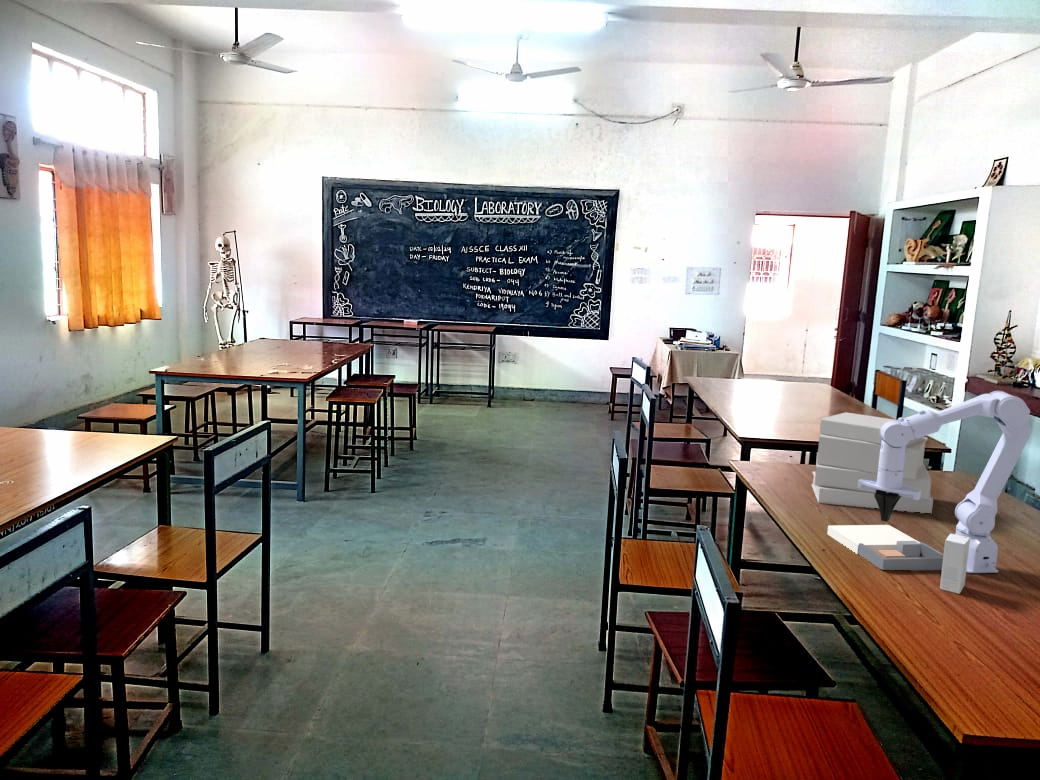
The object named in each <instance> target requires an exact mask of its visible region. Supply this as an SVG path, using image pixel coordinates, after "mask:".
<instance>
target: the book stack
mask: <svg viewBox="0 0 1040 780" xmlns="http://www.w3.org/2000/svg"><path fill="white" fill-rule="evenodd" d="M889 421H897V422H898V421H899V420H898V419H893V418H888V417H880V416H873V415H866V414H859V413H853V412H852V413H851V412H846V411H845V412H842V413H837V414H833V415H829V416H826V417H821V419H820V425H819V434H820V435H819V437H818V438H819V439H818V448H817V460H816V465H815V466H816V467H815V471H814V470H813V471H812V472H811V473H812V476H813V481H812V483H810V485H811V487H812V490H813V493H814V495H815V498H816V500H817V503H818V504H826V505H835V506H836V505H837V506H844V505H845V506H847V507H854V506H855V507H854V508H864V507H865V509H874V508H877V509H876V510H879V506H878V503H877V501H876V499H875V497H874V494H875V493H876V491H875V490H870V489H866V488H858V480H860V479H863V480H869V481H877V475H878V465H879V456H880V449H881V442H882V438H881V437H880V435H879V430H880V429H881V427H882V426H883V425H884V424H885V423H886V422H889ZM928 439H929V438H928V437H926V436H923V437H920V438H917V439H914V440H910V441H909V443H908V444H907V445H906V446H905V460H904V469H903V478H902V486H903V487H907V488H910V489H913V490H917V491H921V496H920V499H919V500H914V499H913V498H908V497H903V496H901V498H900V499H899V501H898V502H897V504H896V505H895V507H894V509H893V511H894V510H897V512H904V511H907V512H906V513H914V512H920V513H919V514H924V513H931V514H932V512H933V504H934V498H933V497H932V496H931V487H932V478H931V475H930V474H929V472H928V470H927V468H926V466H925V464H924V458H925V457H924V456H925V448H926V442H927V441H928ZM845 506H844V507H845Z"/></svg>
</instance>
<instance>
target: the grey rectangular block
mask: <svg viewBox="0 0 1040 780" xmlns="http://www.w3.org/2000/svg"><path fill="white" fill-rule="evenodd" d="M918 542H919V541H918ZM918 542H916V541H897V545H896V550H897V551H899V552H900V553H902V554H903V555H905V558H917V557H920V556H921V555H920V549H921V544H920V543H918Z"/></svg>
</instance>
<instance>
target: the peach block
mask: <svg viewBox="0 0 1040 780" xmlns="http://www.w3.org/2000/svg"><path fill="white" fill-rule="evenodd" d="M877 553H878V554H879V555H881V556H882V557H884V558H905V555H903V554H902V553H900V552H899V551H897V550H877Z"/></svg>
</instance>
